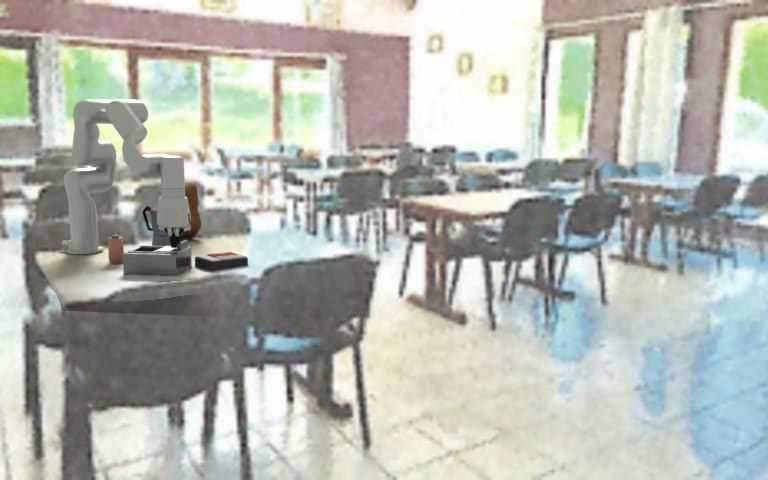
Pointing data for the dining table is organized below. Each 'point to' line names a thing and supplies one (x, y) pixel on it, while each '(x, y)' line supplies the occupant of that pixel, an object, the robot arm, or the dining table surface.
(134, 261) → the grey metal box
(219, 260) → the calculator
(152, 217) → the moka pot
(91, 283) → the dining table surface
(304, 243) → the dining table surface
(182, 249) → the guard cover
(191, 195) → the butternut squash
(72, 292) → the dining table surface
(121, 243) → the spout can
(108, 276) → the dining table surface
